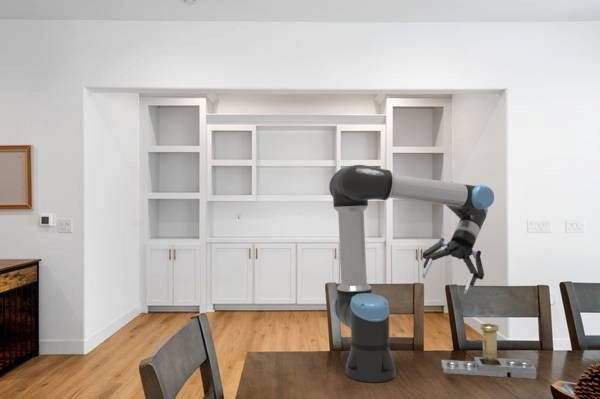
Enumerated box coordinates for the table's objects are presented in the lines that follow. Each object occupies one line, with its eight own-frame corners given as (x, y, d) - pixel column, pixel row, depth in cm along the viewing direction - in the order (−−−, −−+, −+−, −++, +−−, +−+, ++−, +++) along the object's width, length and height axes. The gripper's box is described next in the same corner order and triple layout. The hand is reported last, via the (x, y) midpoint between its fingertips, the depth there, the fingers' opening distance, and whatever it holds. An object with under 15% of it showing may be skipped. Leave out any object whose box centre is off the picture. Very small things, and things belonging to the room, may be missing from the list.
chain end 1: (443, 373, 139) (443, 365, 139) (441, 364, 147) (441, 357, 147) (506, 377, 135) (506, 369, 135) (500, 368, 143) (500, 360, 143)
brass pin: (482, 373, 138) (482, 327, 138) (479, 368, 143) (479, 323, 143) (500, 375, 137) (500, 328, 137) (497, 369, 142) (496, 324, 142)
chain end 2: (478, 375, 137) (478, 363, 137) (474, 366, 144) (474, 355, 145) (536, 379, 133) (536, 366, 133) (528, 369, 141) (528, 358, 141)
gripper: (500, 255, 155) (482, 304, 144) (429, 231, 166) (407, 275, 155) (504, 242, 150) (485, 292, 138) (430, 218, 161) (407, 262, 149)
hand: (444, 283), depth 147 cm, fingers open, 13 cm apart
